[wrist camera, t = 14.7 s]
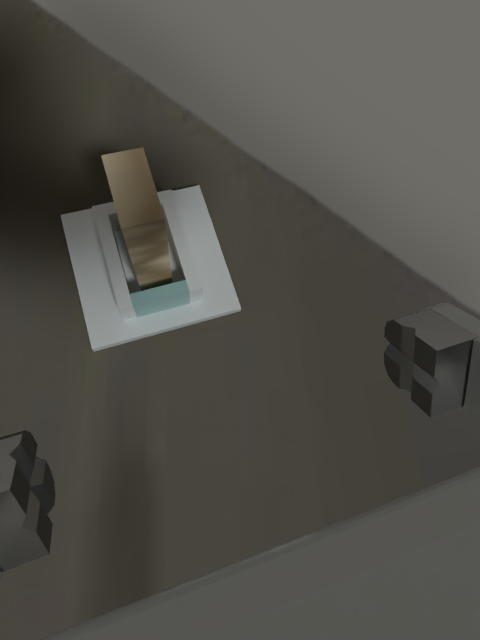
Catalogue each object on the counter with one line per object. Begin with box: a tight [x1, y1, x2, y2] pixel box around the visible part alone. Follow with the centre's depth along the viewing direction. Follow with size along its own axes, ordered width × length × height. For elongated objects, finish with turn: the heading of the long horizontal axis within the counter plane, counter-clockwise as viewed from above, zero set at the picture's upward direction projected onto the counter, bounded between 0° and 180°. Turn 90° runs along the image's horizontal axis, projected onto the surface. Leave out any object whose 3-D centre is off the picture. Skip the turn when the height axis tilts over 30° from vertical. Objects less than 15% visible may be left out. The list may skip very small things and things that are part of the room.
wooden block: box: [101, 147, 173, 291], centre depth 35 cm, size 3×6×12 cm, turn 18°
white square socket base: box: [60, 185, 241, 351], centre depth 40 cm, size 14×14×4 cm
